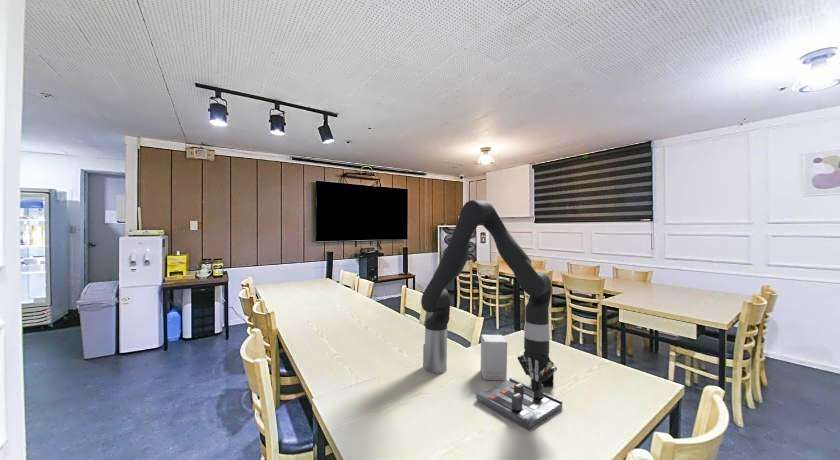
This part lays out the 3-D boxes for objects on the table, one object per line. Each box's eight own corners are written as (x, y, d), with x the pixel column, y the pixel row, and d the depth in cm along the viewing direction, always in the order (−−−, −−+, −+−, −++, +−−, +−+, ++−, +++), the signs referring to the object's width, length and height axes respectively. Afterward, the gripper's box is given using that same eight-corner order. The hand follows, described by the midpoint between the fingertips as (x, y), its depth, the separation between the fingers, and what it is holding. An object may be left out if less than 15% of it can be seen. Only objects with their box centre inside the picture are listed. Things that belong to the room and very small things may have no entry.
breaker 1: (513, 397, 105) (514, 384, 105) (518, 394, 107) (518, 382, 107) (519, 399, 104) (519, 387, 104) (523, 397, 105) (523, 384, 105)
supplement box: (507, 381, 122) (507, 342, 122) (483, 380, 122) (484, 341, 122) (502, 370, 131) (502, 334, 131) (480, 370, 131) (480, 333, 131)
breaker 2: (511, 408, 99) (511, 394, 99) (516, 405, 100) (516, 392, 100) (517, 411, 97) (517, 397, 97) (522, 408, 99) (522, 394, 99)
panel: (476, 400, 107) (476, 393, 107) (510, 384, 119) (510, 377, 119) (528, 431, 91) (528, 422, 92) (562, 409, 103) (562, 401, 103)
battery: (553, 387, 118) (554, 360, 118) (536, 387, 117) (536, 360, 117) (548, 381, 122) (548, 355, 122) (531, 382, 122) (531, 356, 122)
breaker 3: (533, 396, 106) (533, 383, 106) (537, 393, 108) (537, 381, 108) (538, 398, 105) (539, 386, 105) (543, 396, 106) (543, 383, 106)
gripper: (511, 333, 103) (511, 386, 103) (549, 344, 93) (549, 404, 93) (525, 329, 108) (524, 380, 108) (562, 339, 97) (562, 396, 97)
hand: (536, 391), depth 100 cm, fingers closed
